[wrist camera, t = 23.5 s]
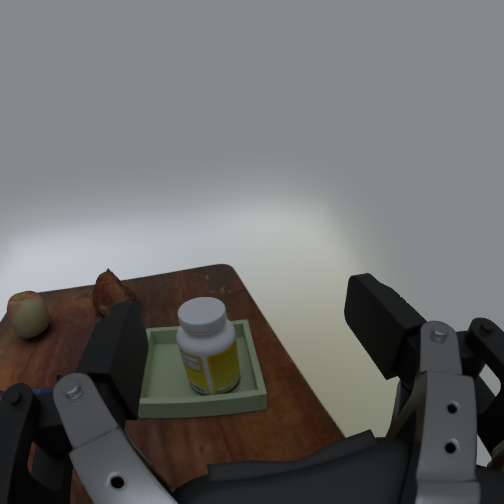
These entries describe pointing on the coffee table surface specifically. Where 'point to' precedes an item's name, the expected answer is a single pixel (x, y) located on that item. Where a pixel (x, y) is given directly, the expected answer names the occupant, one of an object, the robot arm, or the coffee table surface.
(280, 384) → the coffee table surface
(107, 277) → the fossil
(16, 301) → the apple
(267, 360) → the coffee table surface
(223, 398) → the tray
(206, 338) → the pill bottle
